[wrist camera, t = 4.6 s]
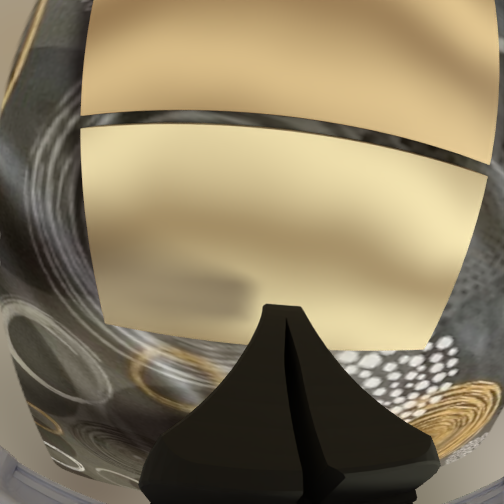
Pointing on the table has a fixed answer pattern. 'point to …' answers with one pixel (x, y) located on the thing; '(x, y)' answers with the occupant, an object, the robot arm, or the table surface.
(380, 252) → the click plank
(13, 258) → the table surface
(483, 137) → the laid oak board
